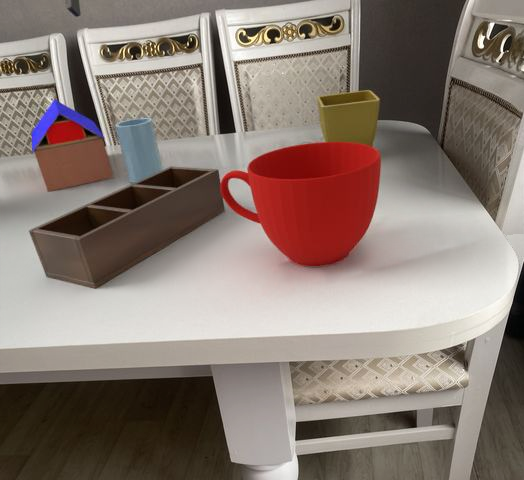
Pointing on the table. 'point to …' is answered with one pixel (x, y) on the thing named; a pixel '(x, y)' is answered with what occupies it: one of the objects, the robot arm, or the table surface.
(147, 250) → the compartment box
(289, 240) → the ceramic cup
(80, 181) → the house
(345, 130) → the flower pot
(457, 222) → the table surface
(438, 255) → the table surface
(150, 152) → the blue cup
